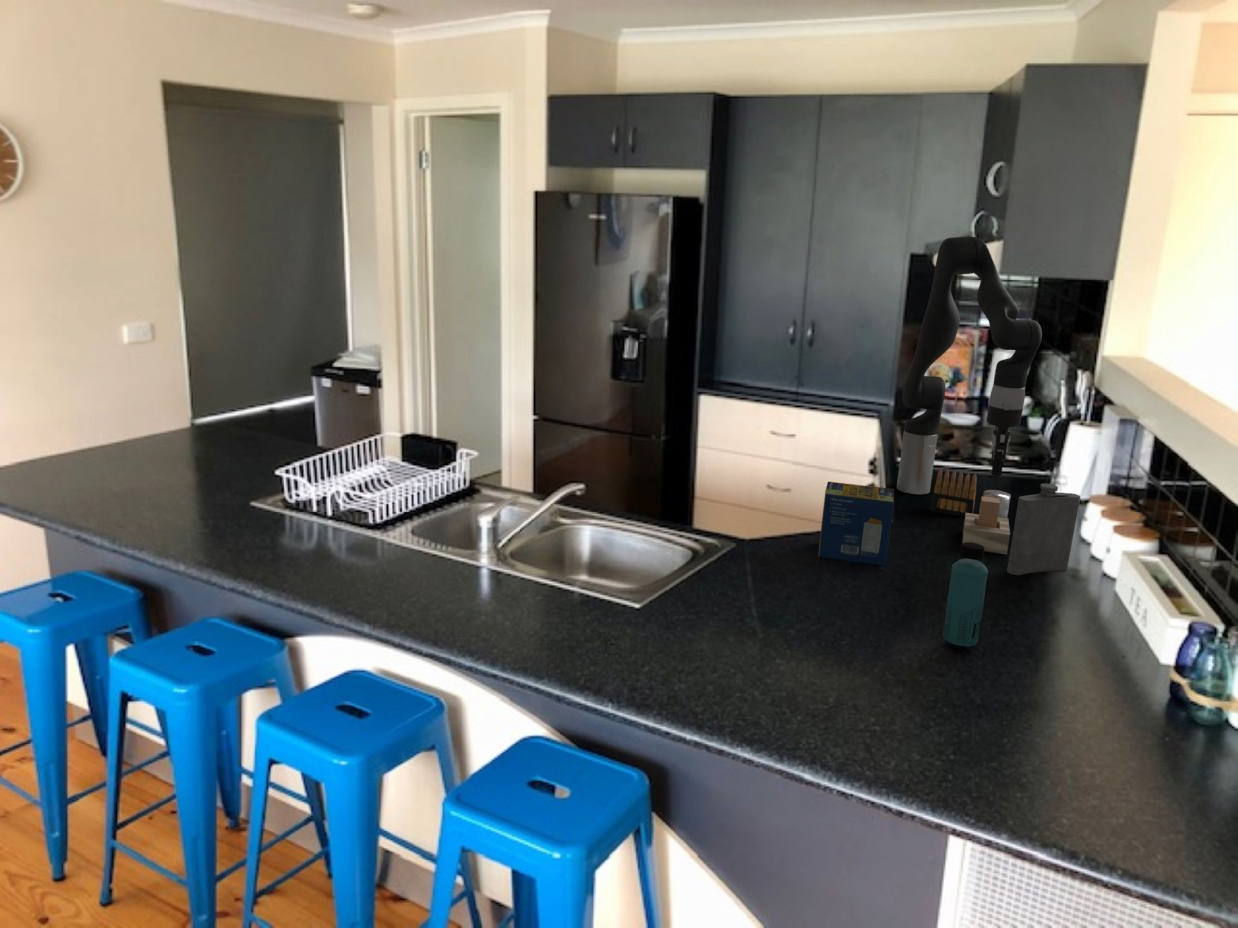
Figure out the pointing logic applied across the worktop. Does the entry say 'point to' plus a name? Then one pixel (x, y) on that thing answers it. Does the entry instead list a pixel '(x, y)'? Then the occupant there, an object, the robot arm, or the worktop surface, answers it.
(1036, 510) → the hip flask
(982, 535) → the socket block
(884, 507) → the protein box
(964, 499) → the ammunition clip
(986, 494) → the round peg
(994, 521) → the square peg
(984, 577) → the beverage bottle
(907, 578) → the worktop surface
